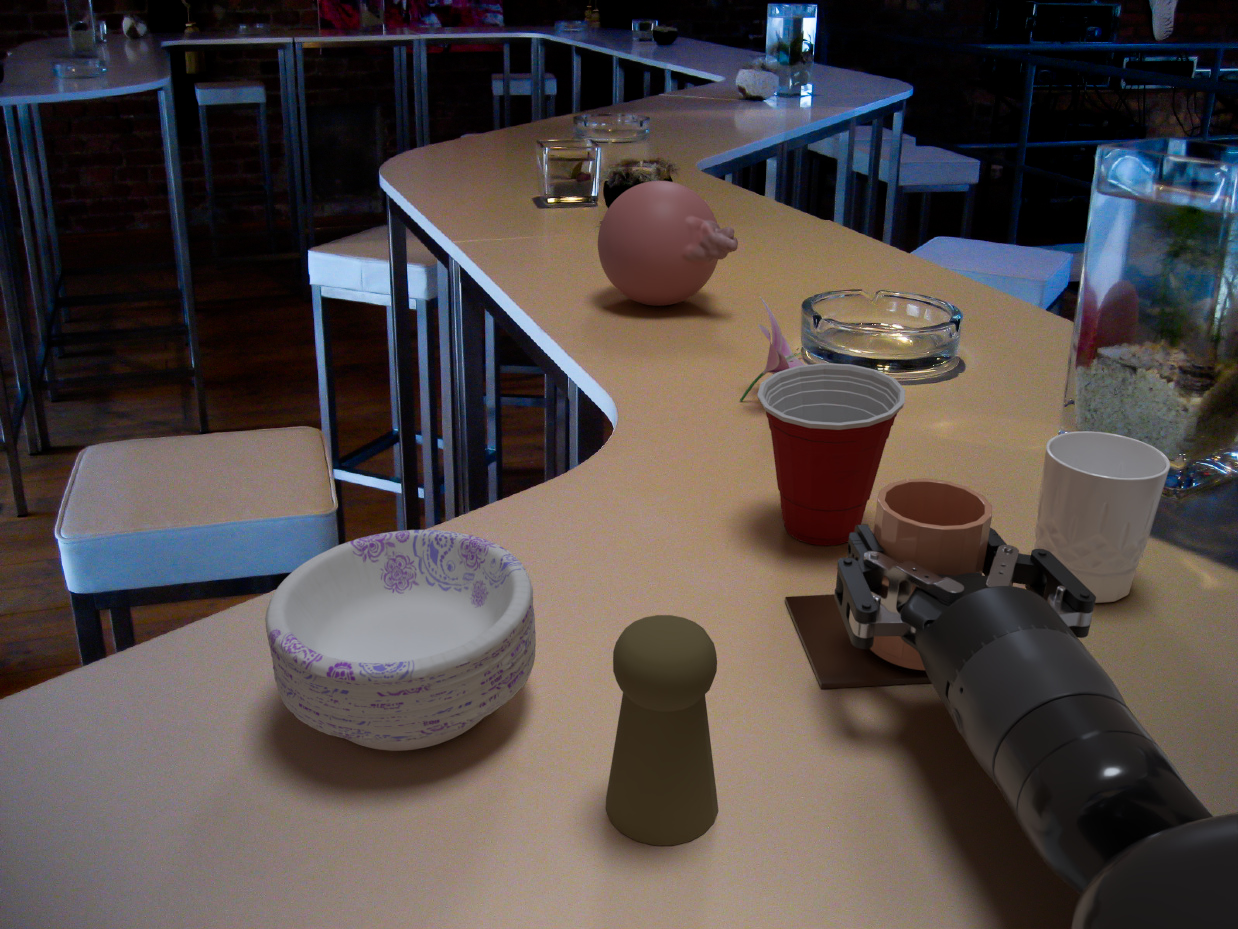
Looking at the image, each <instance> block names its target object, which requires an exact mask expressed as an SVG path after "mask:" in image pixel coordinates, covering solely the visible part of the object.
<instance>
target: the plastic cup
mask: <svg viewBox="0 0 1238 929" xmlns="http://www.w3.org/2000/svg"><path fill="white" fill-rule="evenodd" d="M906 390H907V389H905V388H904V387H903V385H902V384H901V383H900V382H899V381H898V380H897V379H896V378H895V377H892V376H890V375H889V374H886V373H884V372H882V371H879V370H877V369H874V368H869V367H865V366H860V365H855V364H848V363H827V362H826V363H825V362H822V363H814V364H813V363H812V364H804V365H803V366H796V367H793V368H790V369H786V370H783V371H780V372H777V373H775V374H771V375H770V376H769V377H767V378H766V379H765V380H763V381H762V382H761V383H760V385H759V388H758V390H757V391H758V392H757V394H756V396H757V399H758V401H759V403H761V406H762V407H763V409H764V411H765V416H766V418H767V422H768V428H769V430H770V433H771V434H770V436H771V444H772V450H773V460H774V466H775V467H774V468H775V473H776V474H775V475H776V484H777V490H778V491H779V498H780V499H779V500H780V508H781V519H782V521H783V527H784V529H785V530H786V532H787V534H788V535H790V536H791V537H793V538H794V539H796V540H797V541H800V542H803V543H805V544H809V545H815V546H822V547H823V546H825V547H826V546H827V547H828V546H839V545H842V544H845V543H848V541H849V534H850V533H852V532H854V531H855V526H856V525H862V521H863V518H864V515H865V510H866V508H867V504H868V501H869V500H870V498H871V495H872V492H873V488H874V485H875V482H876V478H877V475H878V471H879V467H880V464H881V461H882V458H883V454H884V451H885V447H886V444H887V440H888V439H889V436H890V433H891V430H892V427H893V426H894V423H895V420H896V417H897V416H898V413H899V412H900V411H901V410H902V409H904V406H905V403H906Z"/></svg>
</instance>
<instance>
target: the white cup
mask: <svg viewBox="0 0 1238 929" xmlns="http://www.w3.org/2000/svg"><path fill="white" fill-rule="evenodd" d="M1044 449H1045V450H1044V451H1045V452H1044V458H1043V465H1042V466H1043V467H1042V471H1041V480H1040V487H1039V496H1038V500H1037V502H1038V503H1037V514H1036V521H1035V528H1034V529H1035V530H1034V531H1035V542H1034V547H1033V548H1034V549H1044V550H1047V551H1049V552H1051V553H1052V554H1053V555H1054V556H1055V557H1056V558H1057V559H1058V560H1059V561H1060V562H1061V563H1062V564H1063V565H1064V566H1065V567H1066V568H1067V569H1068V570H1069V571H1070V572H1071V573H1072V574H1073V575H1074V576H1076V577H1077V578H1078V579H1079V580H1080V581H1081V582H1082V583H1083V584H1084V585H1085V586H1086V587H1087V588H1088V589H1089V590H1090V591H1091V592H1092V593H1093V594H1094V595H1095V596H1096V601H1095V604H1101V603H1112V602H1117V601H1120V599H1123V598H1125V597H1127V596H1128V595H1129V594H1130V591H1131V588H1132V585H1133V582H1134V579H1135V575H1136V571H1137V569H1138V566H1139V565H1140V564H1139V563H1140V561H1142V559H1143V557H1144V552H1145V549H1146V546H1147V544H1148V541H1149V539H1150V535H1151V532H1152V529H1153V525H1154V521H1155V518H1156V515H1157V511H1158V509H1159V506H1160V502H1161V498H1162V495H1163V492H1164V488H1165V485H1166V483H1167V479H1168V475H1169V472H1170V469H1171V461H1170V459H1169V458H1168V456H1167V455H1166V454H1164V452H1162V451H1161V450H1160V449H1158V448H1157V447H1155V446H1153V445H1151V444H1149V443H1147V442H1144V441H1143V440H1139V439H1136V438H1132V437H1129V436H1125V435H1121V434H1116V433H1112V432H1103V431H1093V430H1092V431H1091V430H1086V431H1085V430H1082V431H1081V430H1080V431H1071V432H1070V431H1069V432H1064V433H1059V434H1057V435H1054V436H1053V437H1051V438H1050V439H1049V440H1047V442H1046V444H1045V448H1044ZM1034 549H1033V550H1034Z"/></svg>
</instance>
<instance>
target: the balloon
mask: <svg viewBox="0 0 1238 929" xmlns="http://www.w3.org/2000/svg"><path fill="white" fill-rule="evenodd" d="M738 247H739V241H738V238H737V237H735V229H734V228H733V227H732V226H725V227H722V228H721V226H720V225H719V224H718V220H717V218H716V216H715V214H714V212H713V210H712V209H711V207H710V205H709V204H708V203H707V201H705V199H703V198H702V197H701V196H700V195H699V194H698V193H697V192H696V191H694V190H692V189H691V188H689V187H687V186H686V185H683V184H680V183H677V182H674V181H668V180H651V181H645V182H642V183H639V184H636V185H633V186H632V187H630V188H628V189H626V190H625V191H624V192H622V193H621V194H620V195H619V196H618V197H616V199H614V200H613V202H612V203H611V204H610V205H609V207H608V208H607V210H606V212H605V213H604V215H603V218H602V220H601V222H600V226H599V229H598V234H597V254H598V257H599V258H598V259H599V262H600V265H601V267H602V270H603V272H604V274H605V276H606V277H607V279H608V280H609V282H610V283H611V284H612V285H613V287H614V288H615V289H616V290H617V291H618V292H620V294H622V295H623V296H625V297H627V298H628V299H630V300H631V301H634V302H636V303H639V304H642V305H647V306H651V307H664V306H670V305H671V306H672V305H675V304H679V303H681V302H684V301H686V300H688V299H689V298H691V297H692V296H694V295H696V294H697V293H698V292H699V291H701V289H703V287H704V286H706V284H707V283H708V282H709V280H710V279H711V277H712V275H713V274H714V272H715V270H716V266H717V265H718V263H719V260H724V259H726V258H727V257H728V255H729V253H732V252H736V251H737V250H738Z"/></svg>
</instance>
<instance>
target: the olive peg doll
mask: <svg viewBox="0 0 1238 929" xmlns="http://www.w3.org/2000/svg"><path fill="white" fill-rule="evenodd" d="M717 670H718V656H717V649H716V646H715V642H714V641H713V640H712V638H711V637H710V634H708V633H707V630H705V628H704V627H702V626H701V625H700V624H698V623H697V622H696V621H693V620H691V619H688V618H686V617H682V616H677V615H671V614H657V615H656V614H655V615H651V616H645V617H642V618H639V619H637V620H635V621H633V622H632V623H630V624H629V625H628V626H626V627H625V628H624V630H623V631H622V632H621V634H619V637H618V638H617V640H616V642H615V644H614V647H613V651H612V671H613V674H614V678H615V681H616V683H617V685H618V686H619V689H620V690H621V691H622V694H621V695H622V696H621V702H620V708H619V714H618V721H617V728H616V733H615V739H614V746H613V752H612V757H611V765H610V770H609V776H608V783H607V789H606V795H605V796H606V797H605V812H606V814H607V816H608V818H609V820H610V823H611V824H612V825H613V826H614V827H615V828H616V830H618V831H619V833H621V834H623V835H625V836H627V837H628V838H630V839H632V840H634V841H635V842H639V843H642V844H646V845H651V846H676V845H680V844H685V843H689V842H692V841H693V840H695V839H697V838H699V837H701V836H703V835H704V834H705V833H707V831H708V830H709V829H710V828H711V827H712V826H713V824H715V822H716V819H717V815H718V813H719V804H718V794H717V786H716V777H715V769H714V768H715V767H714V760H713V752H712V750H713V749H712V742H711V734H710V733H711V732H710V726H709V724H710V723H709V716H708V707H707V700H706V695H707V693H708V692H709V691H710V690H711V687H712V685H713V683H714V680H715V677H716V675H717V673H718V671H717Z"/></svg>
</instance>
